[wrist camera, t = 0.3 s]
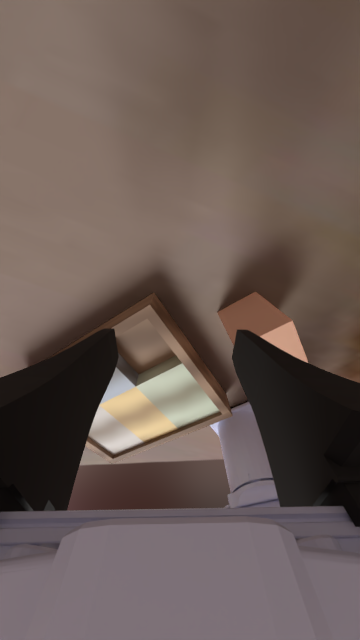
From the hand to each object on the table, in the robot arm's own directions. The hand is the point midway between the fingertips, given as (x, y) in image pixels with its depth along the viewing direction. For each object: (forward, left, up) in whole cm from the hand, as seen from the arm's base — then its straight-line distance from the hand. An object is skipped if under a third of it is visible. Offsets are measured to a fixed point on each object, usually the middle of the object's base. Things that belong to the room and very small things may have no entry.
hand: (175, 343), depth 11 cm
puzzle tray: (-8, +12, -10) cm, 17 cm away
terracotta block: (-7, -5, -10) cm, 13 cm away
